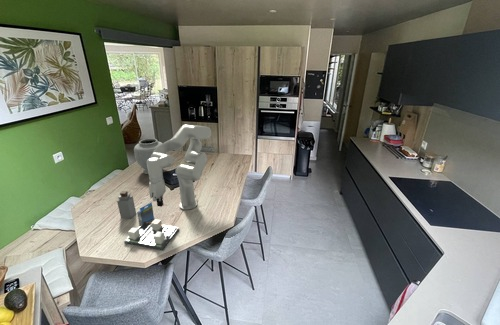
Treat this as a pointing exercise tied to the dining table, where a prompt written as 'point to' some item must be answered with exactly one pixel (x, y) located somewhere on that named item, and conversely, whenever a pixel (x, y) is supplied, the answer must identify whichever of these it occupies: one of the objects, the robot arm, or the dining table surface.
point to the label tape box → (145, 213)
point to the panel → (152, 236)
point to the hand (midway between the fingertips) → (160, 205)
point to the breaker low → (133, 233)
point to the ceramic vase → (145, 151)
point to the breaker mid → (156, 225)
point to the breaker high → (159, 237)
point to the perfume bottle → (126, 205)
